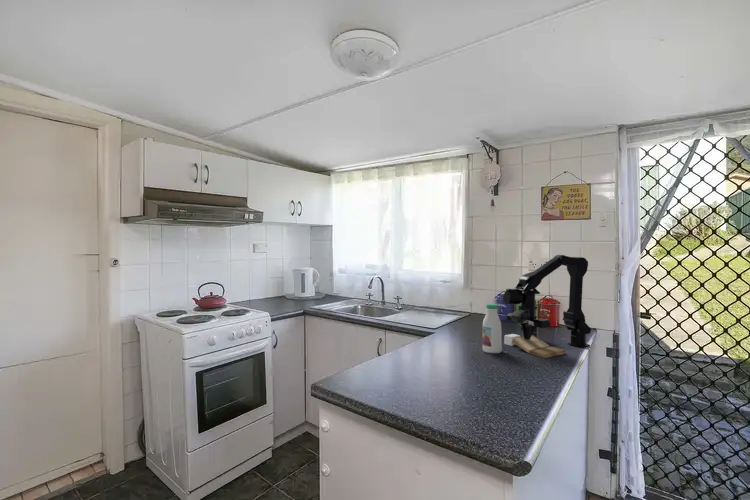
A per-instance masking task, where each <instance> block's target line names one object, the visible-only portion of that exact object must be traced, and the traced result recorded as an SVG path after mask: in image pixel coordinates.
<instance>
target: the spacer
mask: <svg viewBox="0 0 750 500" xmlns="http://www.w3.org/2000/svg"><path fill="white" fill-rule="evenodd" d="M520 337H521V335H519V334H515V333H510V334H505V335H504V338H503V340H504V345H508V346H510V347H513V346H517V345H516V344H514V343H513V342H512V340H513V339H514V338H520Z"/></svg>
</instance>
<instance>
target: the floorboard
mask: <svg viewBox="0 0 750 500" xmlns="http://www.w3.org/2000/svg"><path fill="white" fill-rule="evenodd" d="M529 354H530V355H532V356H536V357H540V358H543V359H547V358H552V357H556V356H561V355H565V354H566V349H563V348H559V347H557V346H556V347H554V346H550V347H547V348H542V349H537V350H532V352H530V353H529Z"/></svg>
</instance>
